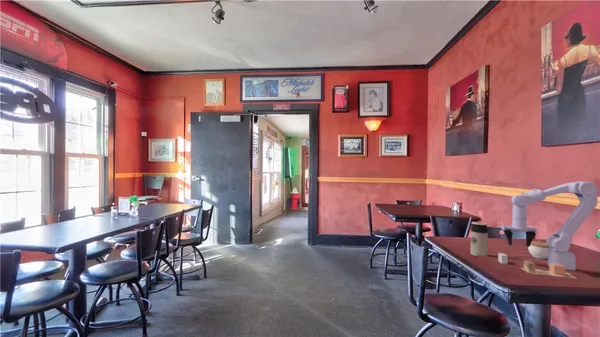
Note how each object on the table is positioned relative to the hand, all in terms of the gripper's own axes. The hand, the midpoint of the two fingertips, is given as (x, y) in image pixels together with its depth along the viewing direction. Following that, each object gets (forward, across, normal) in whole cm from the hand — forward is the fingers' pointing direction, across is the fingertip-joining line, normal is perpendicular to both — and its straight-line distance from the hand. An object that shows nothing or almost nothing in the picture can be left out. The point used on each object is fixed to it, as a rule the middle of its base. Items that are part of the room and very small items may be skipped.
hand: (519, 245), depth 144 cm
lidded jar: (+10, -17, -20) cm, 28 cm away
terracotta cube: (+8, -10, +14) cm, 19 cm away
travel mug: (+10, +15, -10) cm, 20 cm away
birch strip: (+9, -6, +14) cm, 18 cm away
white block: (+9, +1, +4) cm, 10 cm away
